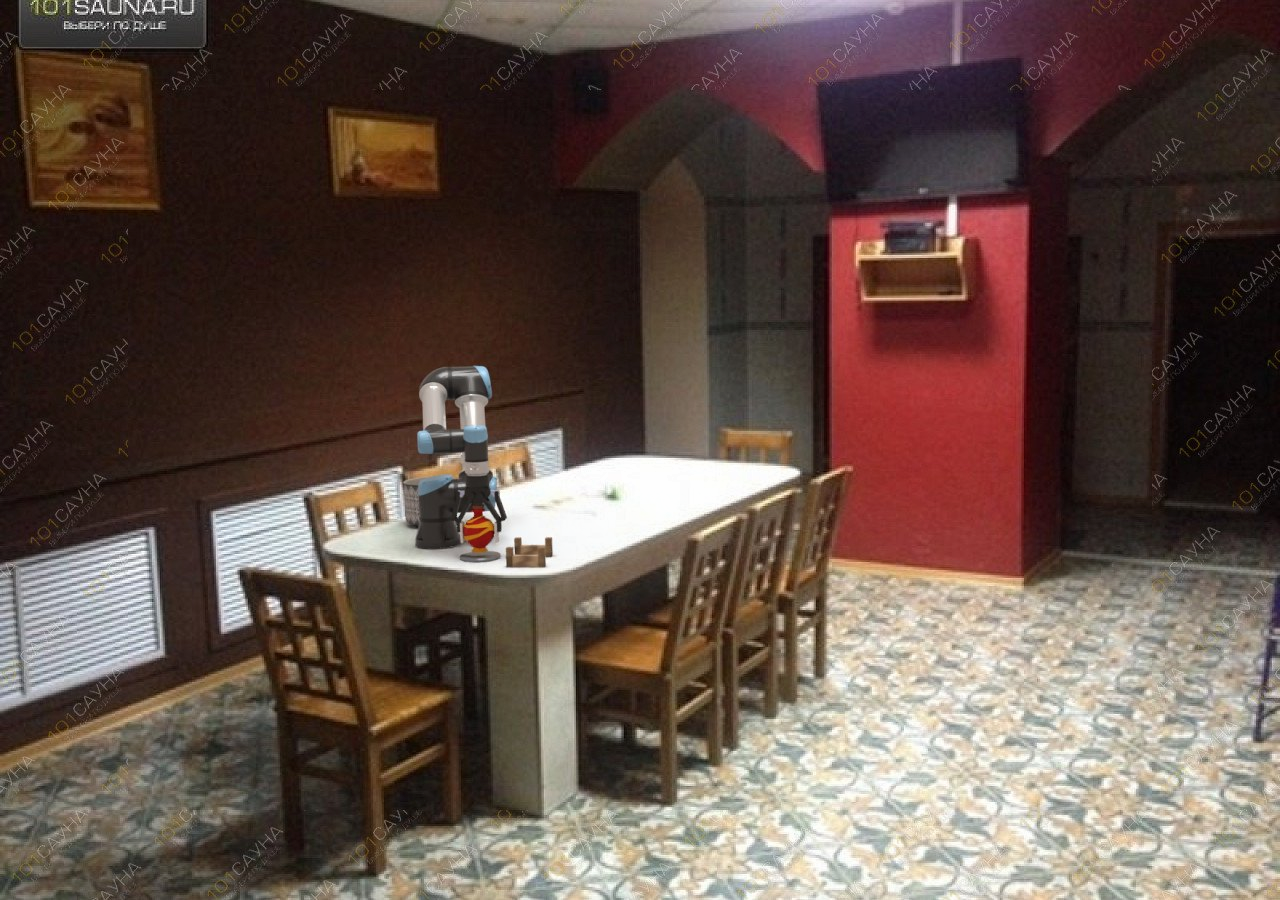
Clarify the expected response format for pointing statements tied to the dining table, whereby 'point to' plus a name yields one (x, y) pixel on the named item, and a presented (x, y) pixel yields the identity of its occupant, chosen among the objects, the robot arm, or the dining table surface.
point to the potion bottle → (478, 530)
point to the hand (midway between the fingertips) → (479, 542)
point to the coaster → (480, 556)
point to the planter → (412, 500)
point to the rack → (528, 554)
